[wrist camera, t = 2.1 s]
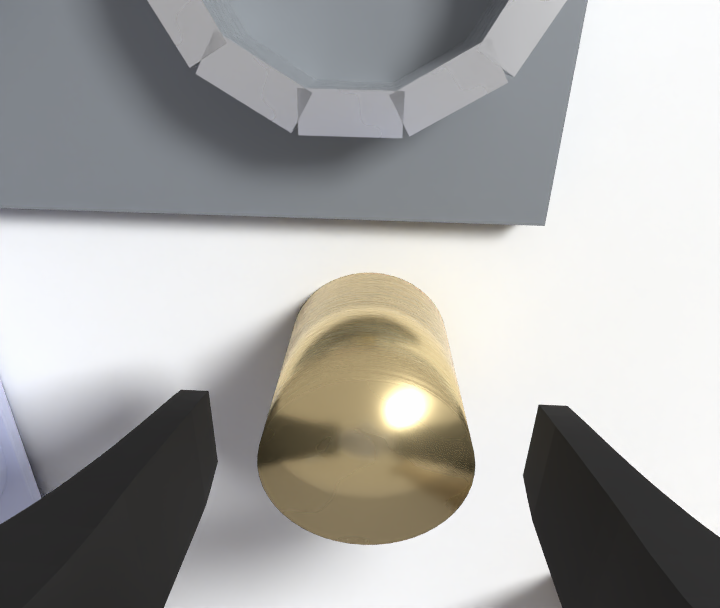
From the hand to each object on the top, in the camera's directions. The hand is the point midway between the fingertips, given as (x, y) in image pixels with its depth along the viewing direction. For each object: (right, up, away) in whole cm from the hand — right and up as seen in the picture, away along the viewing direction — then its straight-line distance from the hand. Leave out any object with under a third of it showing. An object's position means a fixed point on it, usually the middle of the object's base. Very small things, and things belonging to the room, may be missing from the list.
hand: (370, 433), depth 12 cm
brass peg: (0, +2, +3) cm, 4 cm away
